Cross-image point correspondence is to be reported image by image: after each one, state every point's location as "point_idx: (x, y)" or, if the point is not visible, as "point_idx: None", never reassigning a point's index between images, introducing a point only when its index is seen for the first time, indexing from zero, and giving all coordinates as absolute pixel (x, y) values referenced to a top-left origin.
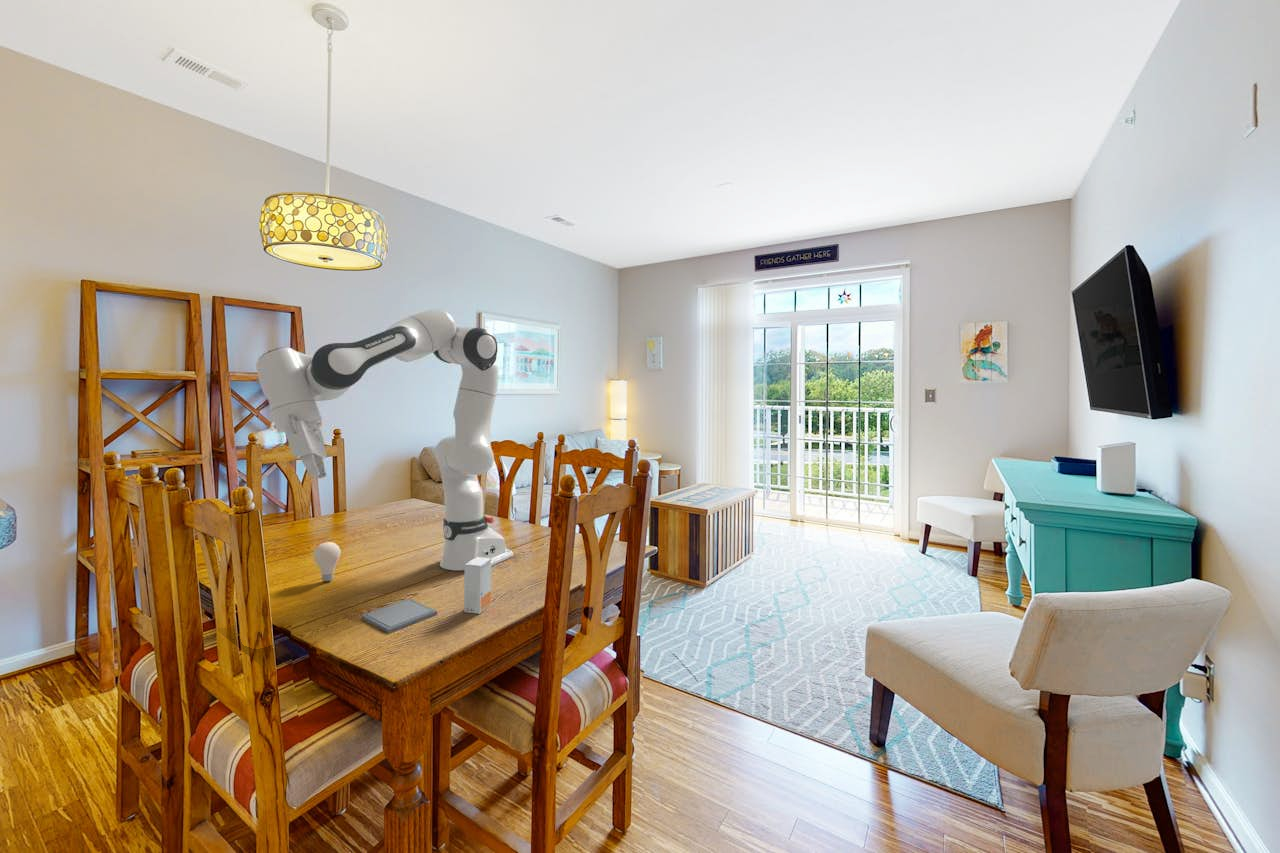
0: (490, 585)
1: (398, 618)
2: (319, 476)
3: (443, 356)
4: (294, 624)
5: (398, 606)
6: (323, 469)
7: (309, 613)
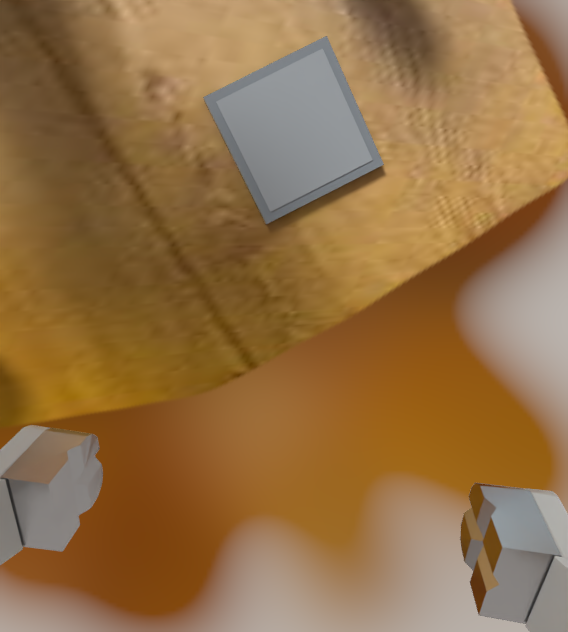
0: None
1: (332, 137)
2: (93, 484)
3: None
4: (233, 367)
5: (253, 131)
6: (49, 483)
7: (177, 342)
